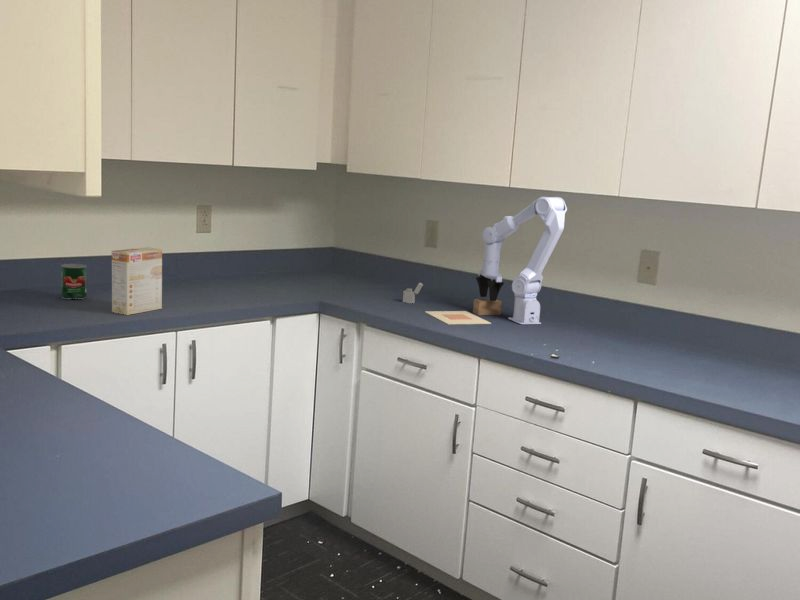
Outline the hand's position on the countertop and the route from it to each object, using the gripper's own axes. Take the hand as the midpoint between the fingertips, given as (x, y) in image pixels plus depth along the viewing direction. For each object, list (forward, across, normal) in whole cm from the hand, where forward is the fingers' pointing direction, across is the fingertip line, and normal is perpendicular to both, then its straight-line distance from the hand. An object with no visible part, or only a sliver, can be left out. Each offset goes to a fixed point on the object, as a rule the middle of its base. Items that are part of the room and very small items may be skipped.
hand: (488, 298), depth 287 cm
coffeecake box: (+6, +10, +119) cm, 120 cm away
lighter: (+6, +20, +21) cm, 29 cm away
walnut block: (+6, 0, 0) cm, 6 cm away
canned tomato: (+6, +32, +138) cm, 142 cm away
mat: (+5, -7, +15) cm, 17 cm away
